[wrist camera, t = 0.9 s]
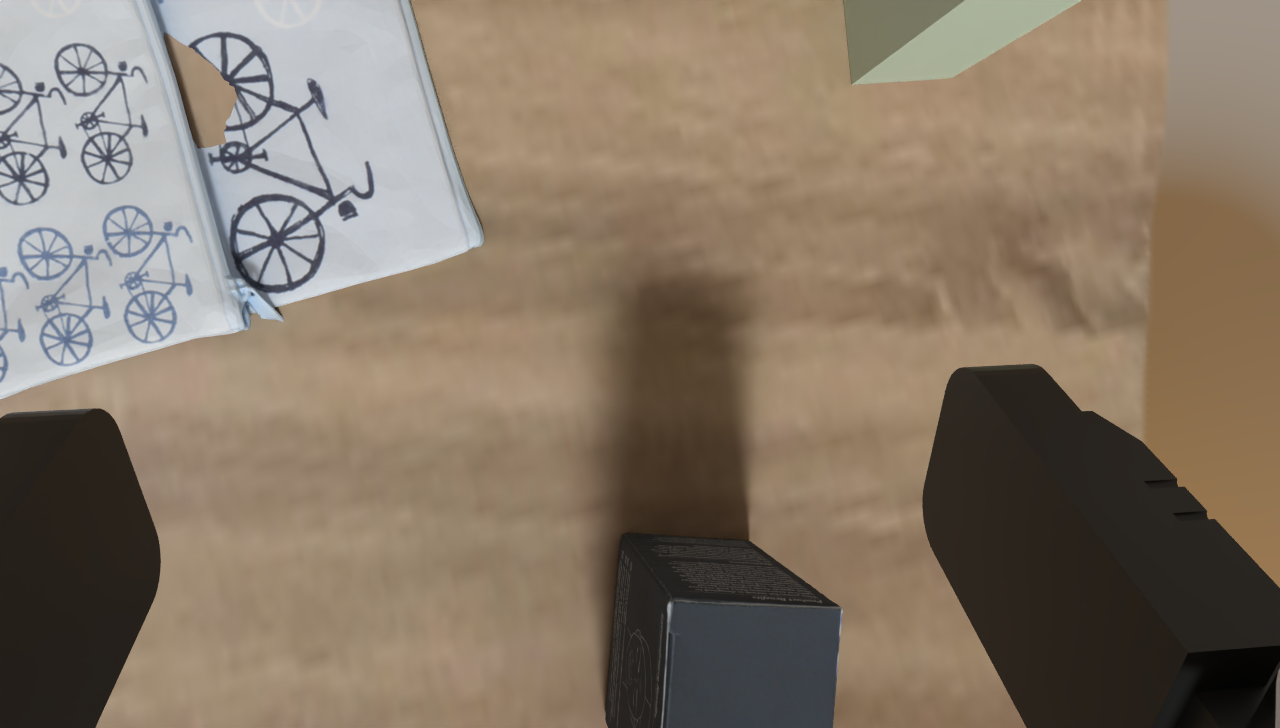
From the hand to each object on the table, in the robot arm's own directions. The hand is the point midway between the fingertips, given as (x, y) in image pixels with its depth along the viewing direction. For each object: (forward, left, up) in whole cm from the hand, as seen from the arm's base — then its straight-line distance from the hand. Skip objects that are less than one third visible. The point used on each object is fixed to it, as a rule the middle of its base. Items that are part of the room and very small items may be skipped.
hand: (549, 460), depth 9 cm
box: (+11, +6, -28) cm, 31 cm away
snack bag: (-12, -11, -29) cm, 33 cm away
